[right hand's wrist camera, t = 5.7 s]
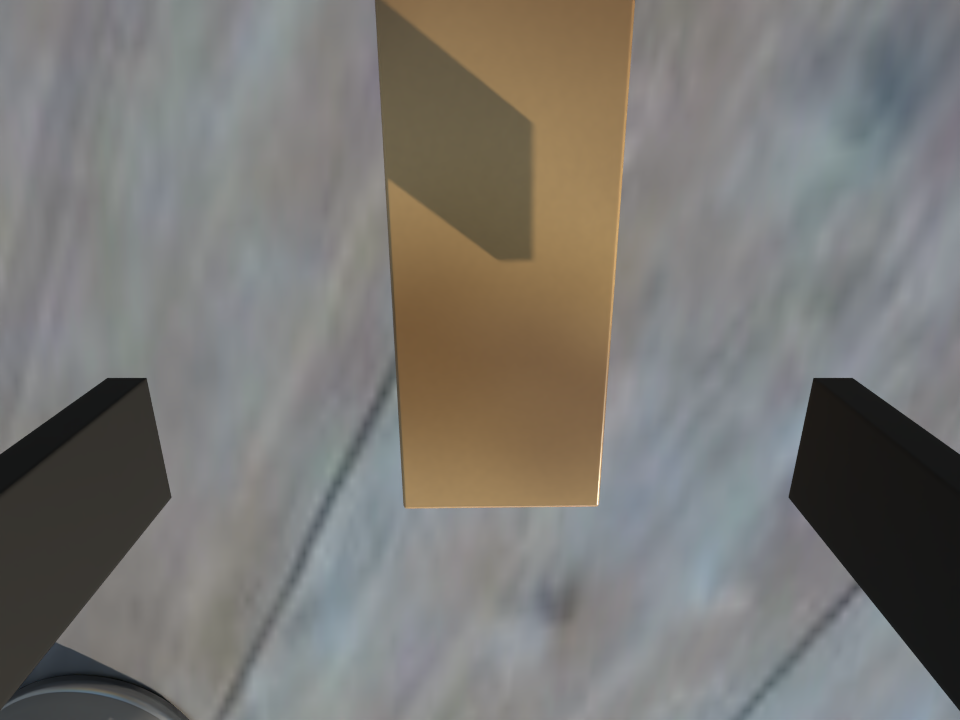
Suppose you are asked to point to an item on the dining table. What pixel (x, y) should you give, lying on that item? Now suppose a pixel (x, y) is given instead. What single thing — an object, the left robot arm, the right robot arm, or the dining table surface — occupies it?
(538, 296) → the bar
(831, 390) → the right robot arm
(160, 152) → the dining table surface
